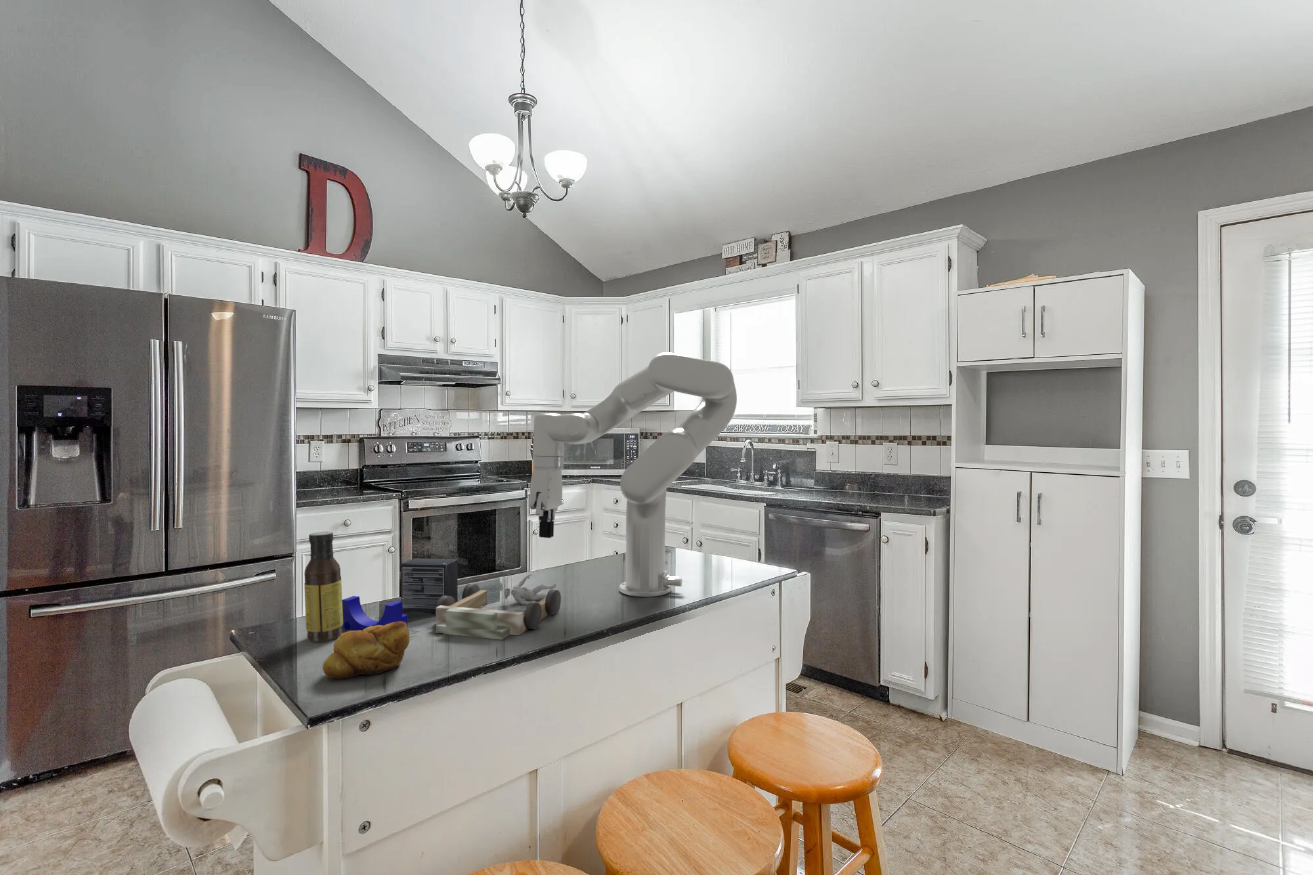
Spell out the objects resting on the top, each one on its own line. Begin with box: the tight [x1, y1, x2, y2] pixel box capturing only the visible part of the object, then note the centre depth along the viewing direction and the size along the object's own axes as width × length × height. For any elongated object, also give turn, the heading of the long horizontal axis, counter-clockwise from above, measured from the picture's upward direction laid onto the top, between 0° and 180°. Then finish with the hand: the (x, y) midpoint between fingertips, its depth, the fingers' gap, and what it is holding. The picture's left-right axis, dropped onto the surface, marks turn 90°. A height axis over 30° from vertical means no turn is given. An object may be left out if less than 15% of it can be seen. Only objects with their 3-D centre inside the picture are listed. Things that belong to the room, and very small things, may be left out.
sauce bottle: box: [303, 531, 344, 643], centre depth 119 cm, size 6×6×20 cm
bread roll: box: [322, 621, 410, 679], centre depth 104 cm, size 13×10×8 cm
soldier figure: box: [503, 574, 557, 606], centre depth 144 cm, size 8×5×12 cm
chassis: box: [434, 583, 562, 640], centre depth 130 cm, size 21×20×5 cm
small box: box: [400, 557, 459, 613], centre depth 138 cm, size 11×6×10 cm, turn 84°
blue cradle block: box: [342, 595, 409, 631], centre depth 124 cm, size 12×4×6 cm, turn 71°
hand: (546, 536), depth 156 cm, fingers closed
